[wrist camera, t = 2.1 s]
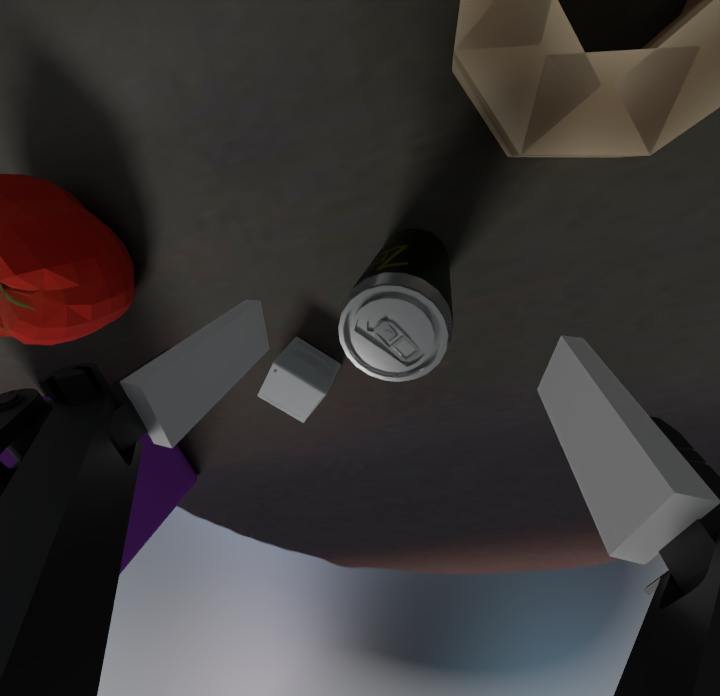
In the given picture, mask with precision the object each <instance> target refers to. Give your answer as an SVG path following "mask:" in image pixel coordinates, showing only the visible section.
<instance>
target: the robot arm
mask: <svg viewBox="0 0 720 696" xmlns="http://www.w3.org/2000/svg"><path fill="white" fill-rule="evenodd" d="M268 350H269V343H268V338H267V333H266V327H265V322H264V317H263V311H262V306H261V301H256V300H248V299H246V300H245V301H243V302H242V303H240V304H239V305H237V306H236V307H234V308H232V309H231V310H229V311H228V312H226V313H225V314H223V315H222V316H220V317H219V318H217V319H216V320H214V321H212V322H211V323H209V324H208V325H206V326H205V327H203V328H202V329H200V330H199V331H197V332H196V333H194V334H192V335H191V336H189V337H188V338H186V339H185V340H183V341H182V342H180V343H179V344H177V345H175V346H174V347H171V348H169V349H167V350H165V351H163V352H162V353H160V354H159V355H157V356H156V357H155V359H154V358H152V359H151V360H149V361H148V362H146V364H145V365H144V364H143V365H142V366H140V367H138V368H137V369H135V370H134V371H132V372H131V373H129V374H128V375H126V376H124V377H123V378H121V379H120V380H118V381H117V382H115V383H114V384H112V385H110V386H108V384H107V382H106V381H105V379H104V377H103V375H102V374H101V372H100V370H99V369H98V367H97V366H96V365H94V364H87V363H85V364H77V365H72V366H69V367H65V368H62V369H60V370H57V371H55V372H53V373H51V374H49V375H48V376H46V377H44V378H43V379H42V380H41V381H40V382H39V383H40V385H41V386H42V387H43V389H44V390H45V391H46V393H47V394H48V395H49V397H50V398H51V399H52V400H50V401H45V400H44V399H43V397H42V396H41V395H40V393H39V392H38V391H37V390H35V389H20V390H13V391H9V392H7V393H3V394H0V454H1V453H2V452H3V451H4V450H5V449H7V450H8V451H9V452H10V453H11V454H12V455H13V456H14V457H15V458H16V459H17V460H18V461H17V462H16V464H15V465H14V466H12V467H11V468H8V467H6V466H5V465H4V464H3V463H2V462H1V461H0V696H97V692H98V687H99V682H100V676H101V671H102V665H103V659H104V654H105V649H106V644H107V638H108V633H109V627H110V622H111V616H112V611H113V606H114V600H115V594H116V589H117V584H118V578H119V573H120V568H121V562H122V557H123V551H124V546H125V540H126V535H127V529H128V524H129V519H130V513H131V508H132V502H133V497H134V491H135V486H136V481H137V475H138V470H139V464H140V459H141V453H142V448H143V446H142V442H141V440H140V438H141V437H142V436H143V435H144V434H145V433H147V432H148V434H149V436H150V438H151V439H152V441H153V443H154V444H157V445H161V446H165V447H169V448H173V447H174V446H175V445H176V444H177V443H178V442H179V441H180V440H181V439H182V438H183V437H184V436H185V435H186V434H187V433H188V432H189V431H190V430H191V429H192V428H193V427H194V426H195V425H196V424H197V423H198V422H199V421H200V420H201V419H202V418H203V417H204V416H205V415H206V414H207V412H208V411H209V410H210V409H211V408H212V407H213V406H214V405H215V404H216V403H217V402H218V401H219V400H220V399H221V398H222V397H223V396H224V395H225V394H226V393H227V392H228V391H229V390H230V389H231V388H232V387H233V386H234V385H235V384H236V383H237V382H238V381H239V380H240V379H241V378H242V377H243V376H244V375H245V374H246V373H247V372H248V371H249V370H250V369H251V368H252V366H253V365H254V364H255V363H256V362H257V361H258V360H259V359H260V358H261V357H262V356H263V355H264V354H265V353H266V352H267V351H268ZM537 390H538V392H539V395H540V397H541V399H542V402H543V404H544V406H545V409H546V411H547V413H548V416H549V418H550V420H551V423H552V425H553V427H554V429H555V432H556V434H557V436H558V439H559V441H560V443H561V446H562V448H563V450H564V453H565V455H566V457H567V459H568V462H569V464H570V466H571V469H572V471H573V473H574V476H575V478H576V480H577V483H578V485H579V487H580V490H581V492H582V494H583V496H584V499H585V501H586V503H587V506H588V508H589V510H590V513H591V515H592V517H593V520H594V522H595V524H596V526H597V529H598V531H599V533H600V536H601V538H602V540H603V543H604V545H605V547H606V550H607V552H608V554H609V556H611V557H615V558H619V559H623V560H627V561H632V562H636V563H640V564H644V565H645V564H646V563H648V562H649V561H650V560H651V559H652V558H654V557H655V556H656V555H657V554H659V553H660V555H661V556H662V558H663V560H664V562H665V563H666V565H667V567H668V569H669V571H667V572H666V573H665V574H663V575H662V576H660V577H659V578H658V579H656V580H655V581H654V582H652V583H651V584H650V585H648V586H647V587H646V588H645V589H644V591H645V592H646V593H648V594H649V595H650V594H651V593H652V592H654V591H655V590H656V591H655V593H654V596H653V598H652V601H651V603H650V606H649V608H648V611H647V613H646V616H645V618H644V621H643V624H642V626H641V629H640V631H639V634H638V636H637V639H636V641H635V644H634V646H633V649H632V651H631V654H630V656H629V659H628V661H627V664H626V666H625V669H624V671H623V674H622V677H621V679H620V681H619V684H618V687H617V689H616V692H615V694H614V696H720V477H719V476H718V475H717V474H716V473H715V471H714V470H713V469H712V468H711V467H710V466H709V465H706V464H705V462H706V461H705V460H704V459H703V458H702V457H701V456H700V455H699V454H698V453H697V452H696V451H693V449H694V448H693V447H692V446H691V445H690V444H689V443H688V442H687V441H686V439H685V438H684V437H683V436H682V435H681V434H680V433H679V432H678V431H676V430H675V429H674V428H672V427H671V426H669V425H668V424H667V423H665V422H664V421H662V420H661V419H660V418H655V417H649V416H648V414H647V413H646V412H645V411H644V410H643V409H642V407H641V406H640V405H639V404H638V403H637V401H636V400H635V399H634V398H633V397H632V395H631V394H630V393H629V392H628V391H627V390H626V388H625V387H624V386H623V385H622V384H621V382H620V381H619V380H618V379H617V378H616V377H615V375H614V374H613V373H612V372H611V371H610V369H609V368H608V367H607V366H606V365H605V363H604V362H603V361H602V360H601V359H600V358H599V356H598V355H597V354H596V353H595V352H594V350H593V349H592V348H591V347H590V346H589V344H588V343H587V342H586V341H585V340H584V339H583V338H579V337H570V336H561V337H560V339H559V341H558V344H557V346H556V348H555V350H554V353H553V355H552V357H551V359H550V362H549V364H548V366H547V369H546V371H545V373H544V375H543V378H542V380H541V382H540V384H539V387H538V389H537Z"/></svg>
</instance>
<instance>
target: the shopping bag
mask: <svg viewBox="0 0 720 696" xmlns="http://www.w3.org/2000/svg"><path fill="white" fill-rule="evenodd" d="M42 397H43V399H44V400H45V401H50V400H52V399H51V398H50V397H48V396H42ZM140 440H141V442H142V446H143V448H142V453H141V459H140V464H139V470H138V475H137V481H136V486H135V491H134V497H133V502H132V508H131V513H130V519H129V524H128V529H127V535H126V540H125V546H124V551H123V557H122V562H121V568H120V573H121V572H122V571H123V570H124V569H125V567H126V566H127V565H128V564H129V562H130V561H131V560H132V559H133V558H134V556H135V555H136V554H137V553H138V551H139V550H140V549H141V548H142V547H143V546H144V544H145V543H146V542H147V541H148V539H149V538H150V537H151V536H152V535H153V533H154V532H155V531H156V530H157V529H158V527H159V526H160V525H161V524H162V522H163V521H164V520H165V519H166V518H167V517H168V515H169V514H170V513H171V512H172V511H173V509H174V508H175V507H176V506H177V505H178V503H179V502H180V501H181V500H182V499H183V497H184V496H185V495H186V494H187V492H188V491H189V490H190V489H191V488H192V486H193V485H194V484H195V482H196V480H197V475H196V473H195V471H194V470H193V468H192V466H191V465H190V463H189V462H188V460H187V459H186V457H185V456H184V454H183V452H182V451H181V449H180V448H179V446H178V445H177V444H176V445H175V446H174V447H173V448H169V447H165V446H161V445H157V444H154V443H153V441H152V439H151V438H150V436H149V434H148V432H147V433H145V434H144V435H143V436H142V437H141V438H140ZM0 461H1V462H2V463H3V464H4V465H5V466H6V467H8V468H11V467H12V466H14V465H15V464H16V462H17V461H18V460H17V459H16V458H15V457H14V456H13V455H12V454H11V453H10V452H9V451H8V450H7V449H5V450H4V451H3V452H2V453H1V454H0ZM120 573H119V575H120Z"/></svg>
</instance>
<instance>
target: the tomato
mask: <svg viewBox="0 0 720 696" xmlns="http://www.w3.org/2000/svg"><path fill="white" fill-rule="evenodd" d="M134 295H135V283H134V266H133V262H132V260H131V258H130V255H129V253H128V251H127V248H126V246H125V245H124V244H123V242H122V241H121V240H120V239H119V238H118V237H117V235H116V234H115V233H114V232H113V231H112V230H111V229H110V228H109V227H108V226H107V225H106V224H104V223H103V222H102V221H101V220H99V219H98V218H97V217H96V216H95V215H93V214H92V213H90V212H88V210H87V209H86V208H85V207H84V206H83V205H82V204H81V202H80V201H79V200H78V199H77V198H76V197H74V196H73V195H72V194H71V193H70V192H68V191H66V190H64V189H63V188H61V187H59V186H57V185H55V184H53V183H51V182H49V181H47V180H44V179H41V178H36V177H31V176H26V175H12V174H0V337H14V338H16V339H17V340H19V341H20V342H22V343H24V344H32V345H55V344H59V343H64V342H68V341H73V340H76V339H78V338H81V337H83V336H86V335H89V334H91V333H93V332H95V331H97V330H99V329H100V328H102V327H104V326H106V325H107V324H109V323H111V322H113V321H115V320H116V319H118V318H119V317H121V316H122V315H123V314H124V313H125V312H126V311H127V310H128V309H129V307H130V305H131V303H132V301H133V299H134Z"/></svg>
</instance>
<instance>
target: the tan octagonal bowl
mask: <svg viewBox="0 0 720 696" xmlns="http://www.w3.org/2000/svg"><path fill="white" fill-rule="evenodd" d="M452 72H453V74H454V75H455V77H456V78H457V80H458V81H459V83H460V84H461V86H462V87H463V89H464V90H465V92H466V94H467V95H468V97H469V98H470V100H471V101H472V103H473V104H474V106H475V107H476V109H477V110H478V112H479V114H480V115H481V117H482V118H483V120H484V121H485V123H486V124H487V126H488V127H489V129H490V130H491V132H492V134H493V135H494V137H495V138H496V140H497V141H498V143H499V144H500V146H501V147H502V149H503V150H504V152H505V154H506V155H507V157H631V156H650V155H652V154H653V153H655V152H656V151H657V150H659V149H660V148H662V147H663V146H665V145H666V144H667V143H669V142H670V141H672V140H673V139H675V138H676V137H677V136H679V135H680V134H682V133H683V132H685V131H686V130H688V129H689V128H690V127H692V126H693V125H695V124H696V123H698V122H699V121H700V120H702V119H703V118H705V117H706V116H708V115H709V114H711V113H712V112H713V111H715V110H716V109H718V108H719V107H720V0H687V2H686V4H685V6H684V9H683V11H682V14H681V15H679V16H678V17H677V18H676V19H675V20H674V21H672V22H671V23H670V24H669V25H668V26H667V27H666V28H664V29H663V30H662V31H661V32H660V33H659V34H658V35H656V36H655V37H654V38H653V39H652V40H651V41H649V42H648V43H647V44H646V45H645V46H644V47H643V48H641V49H637V50H621V51H604V52H588V53H585V52H584V50H583V48H582V46H581V44H580V42H579V40H578V38H577V36H576V34H575V32H574V30H573V28H572V26H571V24H570V23H569V21H568V19H567V17H566V15H565V13H564V11H563V9H562V7H561V5H560V3H559V1H558V0H460V7H459V15H458V23H457V30H456V38H455V45H454V53H453V63H452Z"/></svg>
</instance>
